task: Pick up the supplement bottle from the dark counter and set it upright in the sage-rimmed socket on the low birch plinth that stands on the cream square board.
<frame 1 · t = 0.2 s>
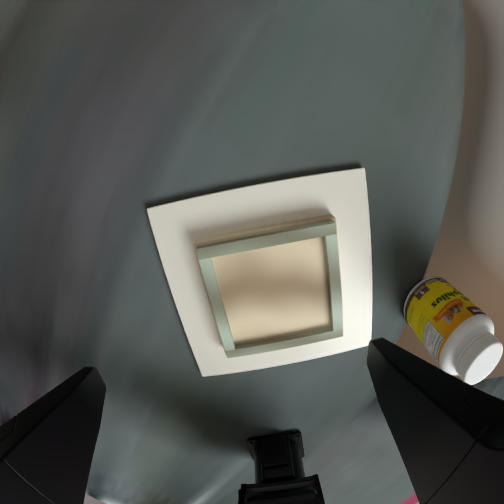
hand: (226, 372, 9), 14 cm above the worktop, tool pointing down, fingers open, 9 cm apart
supplement bottle: (423, 299, 25), on the worktop
cream square board: (274, 285, 24), on the worktop
plinth: (274, 288, 23), resting on cream square board
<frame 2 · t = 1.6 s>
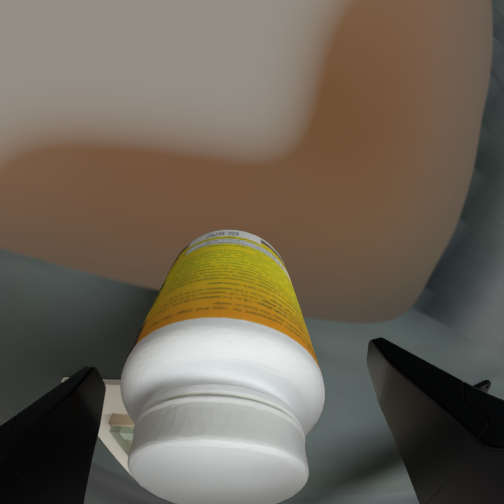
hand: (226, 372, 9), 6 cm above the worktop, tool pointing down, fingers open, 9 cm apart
supplement bottle: (229, 280, 15), on the worktop
cream square board: (196, 448, 19), on the worktop
plinth: (196, 453, 19), resting on cream square board
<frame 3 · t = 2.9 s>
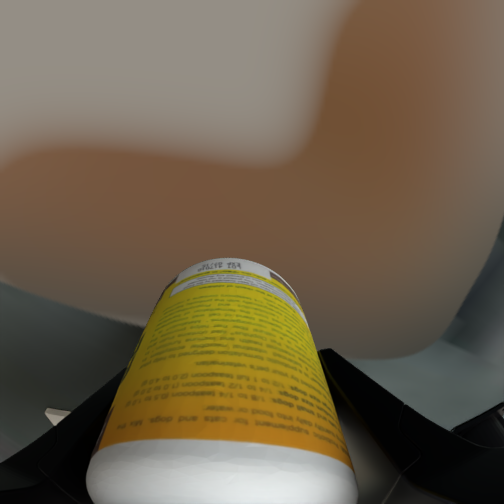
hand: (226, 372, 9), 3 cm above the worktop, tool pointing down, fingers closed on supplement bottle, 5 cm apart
supplement bottle: (229, 317, 12), on the worktop, touching gripper
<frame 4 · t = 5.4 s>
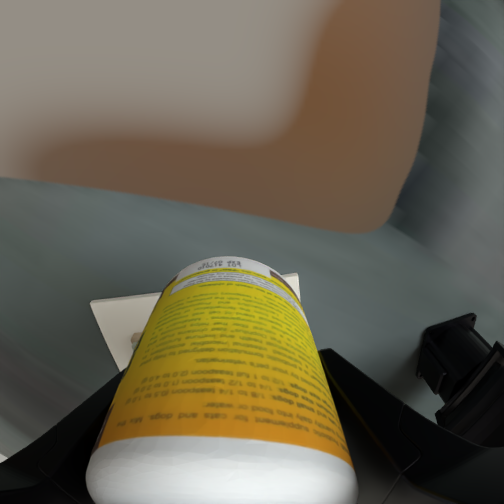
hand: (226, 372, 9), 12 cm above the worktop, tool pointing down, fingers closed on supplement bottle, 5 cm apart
supplement bottle: (229, 315, 12), point 9 cm above the worktop, touching gripper
cream square board: (209, 371, 24), on the worktop
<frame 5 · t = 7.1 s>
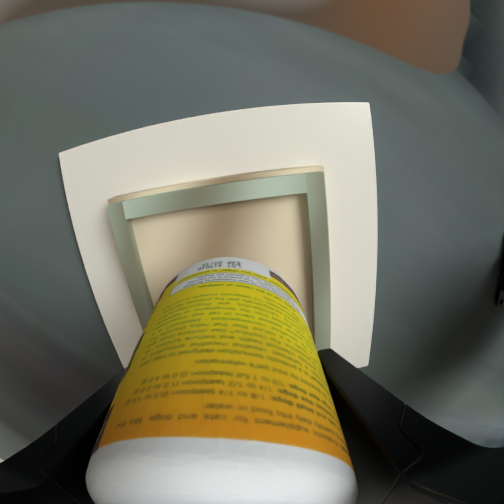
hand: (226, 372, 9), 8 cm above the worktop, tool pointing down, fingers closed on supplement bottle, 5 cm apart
supplement bottle: (229, 316, 12), point 4 cm above the worktop, touching gripper
cream square board: (228, 271, 16), on the worktop
plinth: (228, 275, 15), resting on cream square board
when the fingers open (6 cm above the worktop, at t = 8.3 s): supplement bottle drops 1 cm, resting on plinth.
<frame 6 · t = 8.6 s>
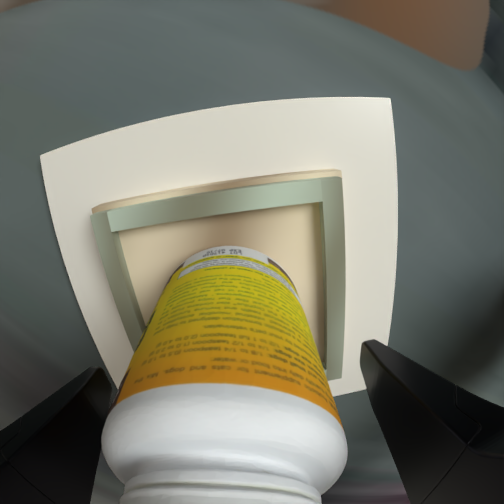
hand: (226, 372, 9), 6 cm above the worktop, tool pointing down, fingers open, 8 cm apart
supplement bottle: (230, 301, 13), point 1 cm above the worktop, touching plinth
cream square board: (230, 289, 14), on the worktop
plinth: (230, 294, 14), resting on cream square board
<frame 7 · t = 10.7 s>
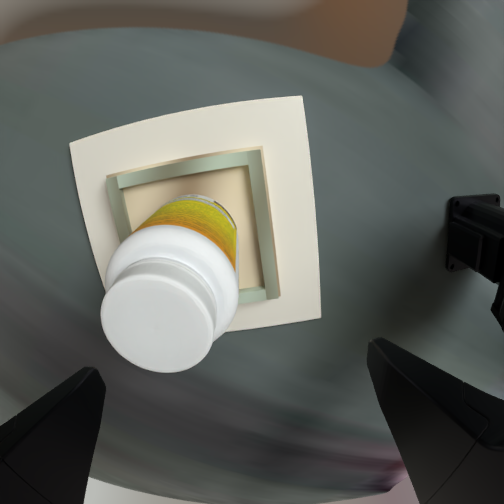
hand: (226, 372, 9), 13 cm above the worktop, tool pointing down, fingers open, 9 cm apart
supplement bottle: (194, 235, 19), point 1 cm above the worktop, touching plinth
cream square board: (196, 230, 20), on the worktop
plinth: (195, 232, 20), resting on cream square board
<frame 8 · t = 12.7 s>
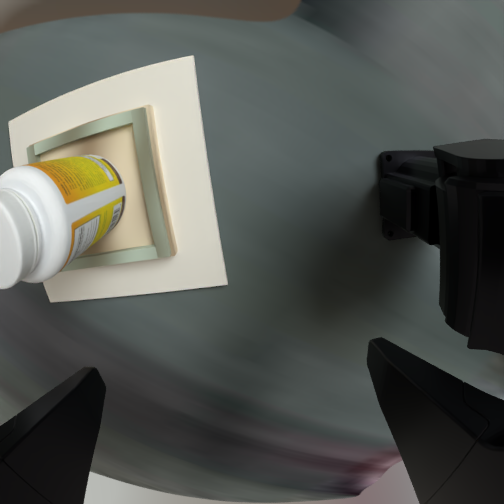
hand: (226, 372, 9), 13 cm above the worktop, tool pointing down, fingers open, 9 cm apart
supplement bottle: (94, 194, 18), point 1 cm above the worktop, touching plinth
cream square board: (101, 192, 19), on the worktop
plinth: (98, 193, 19), resting on cream square board
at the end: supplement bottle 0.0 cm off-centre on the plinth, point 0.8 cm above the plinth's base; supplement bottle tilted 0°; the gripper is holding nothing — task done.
